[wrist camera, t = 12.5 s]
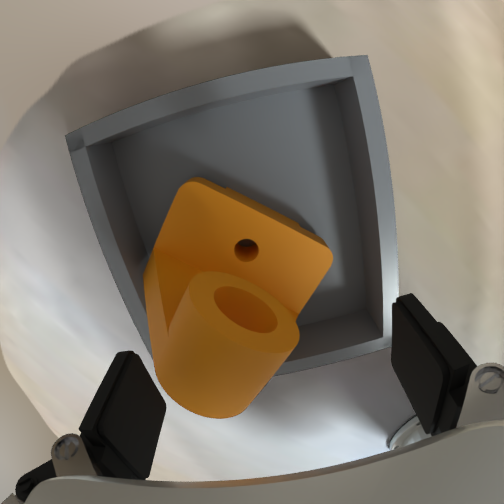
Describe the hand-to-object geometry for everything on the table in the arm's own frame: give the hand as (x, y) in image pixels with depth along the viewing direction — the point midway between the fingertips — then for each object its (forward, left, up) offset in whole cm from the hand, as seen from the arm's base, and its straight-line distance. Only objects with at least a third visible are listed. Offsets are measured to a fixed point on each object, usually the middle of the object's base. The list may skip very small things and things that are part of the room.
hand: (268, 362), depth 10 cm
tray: (0, -1, -14) cm, 14 cm away
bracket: (+1, +1, -13) cm, 13 cm away
